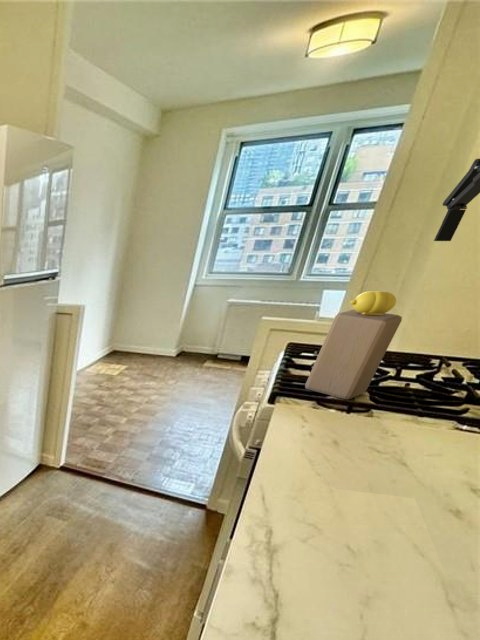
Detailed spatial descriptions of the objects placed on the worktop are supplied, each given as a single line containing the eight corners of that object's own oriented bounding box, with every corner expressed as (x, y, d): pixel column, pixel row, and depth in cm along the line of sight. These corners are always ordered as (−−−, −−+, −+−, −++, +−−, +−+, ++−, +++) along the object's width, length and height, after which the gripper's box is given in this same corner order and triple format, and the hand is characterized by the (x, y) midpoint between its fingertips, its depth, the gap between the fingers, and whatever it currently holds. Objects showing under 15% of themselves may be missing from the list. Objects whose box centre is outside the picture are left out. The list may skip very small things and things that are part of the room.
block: (365, 393, 124) (405, 315, 115) (348, 401, 120) (388, 320, 110) (319, 382, 132) (353, 307, 122) (301, 389, 127) (335, 312, 118)
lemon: (381, 312, 118) (392, 290, 115) (395, 316, 113) (406, 294, 111) (340, 310, 120) (349, 289, 117) (351, 315, 115) (361, 292, 113)
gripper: (453, 135, 108) (406, 238, 118) (556, 121, 86) (488, 249, 96) (495, 133, 106) (444, 238, 116) (612, 119, 85) (537, 249, 95)
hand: (464, 243), depth 106 cm, fingers open, 13 cm apart
